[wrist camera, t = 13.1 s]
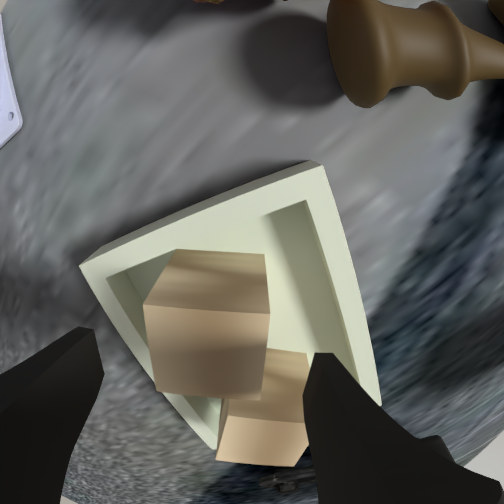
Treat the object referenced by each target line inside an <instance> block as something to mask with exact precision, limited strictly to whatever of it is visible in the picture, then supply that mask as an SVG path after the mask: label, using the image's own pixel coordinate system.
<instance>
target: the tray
mask: <svg viewBox="0 0 504 504" xmlns="http://www.w3.org/2000/svg"><path fill="white" fill-rule="evenodd" d="M176 249H188V250H205V251H222V252H239V253H255V254H265V264H266V274H267V284H268V294H269V304H270V323H269V332H268V340H267V348H272V349H279V350H286V351H293V352H301V353H306V354H307V358H308V363H309V367H311V364H312V360H313V357H314V353H315V352H317V353H334V355H335V356H336V357H337V358H338V359H339V361H340V362H341V363H342V364H343V365H344V367H345V368H346V369H347V370H348V371H349V373H350V374H351V375H352V376H353V377H354V379H355V380H356V381H357V382H358V383H359V384H360V386H361V387H362V388H363V389H364V390H365V391H366V392H367V393H368V394H369V396H370V397H371V398H372V399H373V400H374V401H375V402H376V403H377V404H378V405H379V406H381V405H382V403H381V396H380V390H379V384H378V378H377V372H376V367H375V361H374V356H373V351H372V345H371V340H370V336H369V331H368V326H367V321H366V317H365V312H364V308H363V304H362V299H361V295H360V291H359V287H358V283H357V279H356V275H355V271H354V267H353V263H352V260H351V256H350V252H349V249H348V245H347V241H346V238H345V234H344V231H343V227H342V224H341V221H340V217H339V214H338V211H337V208H336V204H335V201H334V198H333V195H332V192H331V189H330V186H329V182H328V179H327V176H326V174H325V171H324V168H323V165H321V164H319V163H316V162H314V161H311V160H309V161H306V162H303V163H300V164H298V165H295V166H292V167H289V168H286V169H284V170H281V171H278V172H275V173H273V174H270V175H267V176H265V177H262V178H259V179H257V180H254V181H252V182H249V183H246V184H244V185H241V186H239V187H236V188H234V189H231V190H228V191H226V192H223V193H221V194H218V195H216V196H214V197H211V198H209V199H206V200H204V201H201V202H199V203H197V204H194V205H192V206H189V207H187V208H185V209H182V210H180V211H178V212H175V213H173V214H171V215H168V216H166V217H164V218H162V219H159V220H157V221H155V222H153V223H150V224H148V225H146V226H144V227H142V228H139V229H137V230H135V231H133V232H131V233H129V234H126V235H124V236H122V237H120V238H118V239H116V240H114V241H112V242H109V243H107V244H105V245H103V246H101V247H100V248H99V249H98V250H96V251H95V252H94V253H93V254H92V255H91V256H89V257H88V258H87V259H86V260H85V261H83V262H82V263H81V264H80V265H79V267H80V269H81V271H82V273H83V275H84V276H85V278H86V280H87V282H88V284H89V285H90V287H91V289H92V290H93V292H94V294H95V296H96V297H97V299H98V301H99V302H100V304H101V306H102V307H103V309H104V310H105V312H106V314H107V315H108V317H109V318H110V320H111V322H112V323H113V325H114V326H115V328H116V329H117V331H118V332H119V334H120V335H121V337H122V338H123V340H124V341H125V343H126V344H127V346H128V347H129V348H130V350H131V351H132V353H133V354H134V356H135V357H136V358H137V360H138V361H139V363H140V364H141V365H142V367H143V368H144V369H145V371H146V372H147V373H148V375H149V376H150V377H151V379H152V380H153V381H154V376H153V370H152V365H151V359H150V353H149V346H148V340H147V333H146V326H145V319H144V311H143V303H144V301H145V300H146V298H147V296H148V295H149V293H150V291H151V290H152V288H153V286H154V285H155V283H156V281H157V280H158V278H159V277H160V275H161V273H162V272H163V270H164V268H165V267H166V265H167V264H168V262H169V260H170V259H171V257H172V256H173V254H174V252H175V251H176ZM154 383H155V381H154ZM162 393H163V394H164V395H165V397H166V398H167V399H168V400H169V402H170V403H171V404H172V405H173V406H174V408H175V409H176V410H177V411H178V412H179V414H180V415H181V416H182V417H183V418H184V419H185V420H186V422H187V423H188V424H189V425H190V426H191V427H192V428H193V430H194V431H195V432H196V433H197V434H198V435H199V436H200V437H201V438H202V439H203V441H204V442H205V443H206V444H207V445H208V446H209V447H210V448H211V449H212V450H213V449H217V440H218V430H219V420H220V410H221V400H222V398H210V397H199V396H189V395H180V394H172V393H165V392H162Z"/></svg>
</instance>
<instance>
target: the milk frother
mask: <svg viewBox="0 0 504 504" xmlns="http://www.w3.org/2000/svg"><path fill="white" fill-rule="evenodd" d="M418 440H419V441H420V442H422V443H423V444H425V445H426V446H428V447H429V448H431V449H432V450H434V451H435V452H437V453H438V454H440V455H442V456H443V457H445V458H447V459H449V460H450V461H452V462H454V463H455V461H454V459H453V457H452V456H451V454H450V452H449V450H448V448H447V447H446V445H445V443H444V441H443V439H442V438H441V437H440V436H438V435H433V436H429V437H425V438H422V439H418ZM312 482H316V475H315V470H314V466H309V467H304V468H300V469H294V467H286V468H280V469H276V470H275V471H274V474H271V475H266V476H263V477H261V478H259V485H260V486H262V487H273V488H275V487H276V490H277V493H278V494H281V495H283V494H288V493H293V492H297V491H298V490H299V485H302V484H307V483H312Z"/></svg>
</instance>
